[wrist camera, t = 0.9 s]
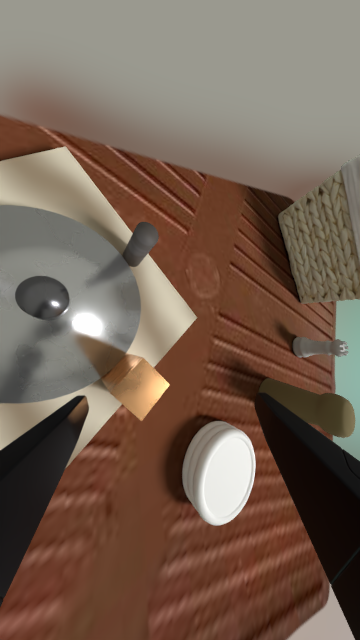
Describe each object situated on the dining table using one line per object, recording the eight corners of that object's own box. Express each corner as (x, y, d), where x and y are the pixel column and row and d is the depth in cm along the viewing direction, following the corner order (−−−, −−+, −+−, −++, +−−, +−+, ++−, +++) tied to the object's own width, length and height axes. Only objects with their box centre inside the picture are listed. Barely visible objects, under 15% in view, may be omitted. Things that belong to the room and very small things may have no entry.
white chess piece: (291, 356, 36) (341, 359, 29) (291, 335, 37) (340, 334, 30) (302, 358, 38) (351, 361, 31) (301, 338, 39) (349, 337, 32)
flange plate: (-204, 280, 9) (-540, 208, 4) (60, 190, 16) (52, 121, 11) (66, 460, 14) (60, 526, 9) (179, 333, 20) (211, 330, 16)
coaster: (171, 509, 20) (188, 539, 17) (190, 417, 22) (207, 429, 19) (230, 496, 24) (252, 518, 21) (240, 421, 27) (261, 431, 24)
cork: (256, 381, 29) (340, 401, 20) (276, 374, 33) (356, 389, 23) (260, 418, 29) (347, 455, 20) (280, 407, 32) (363, 435, 23)
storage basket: (323, 295, 48) (410, 279, 35) (298, 312, 40) (400, 299, 27) (300, 211, 46) (384, 163, 34) (269, 210, 38) (365, 145, 25)
